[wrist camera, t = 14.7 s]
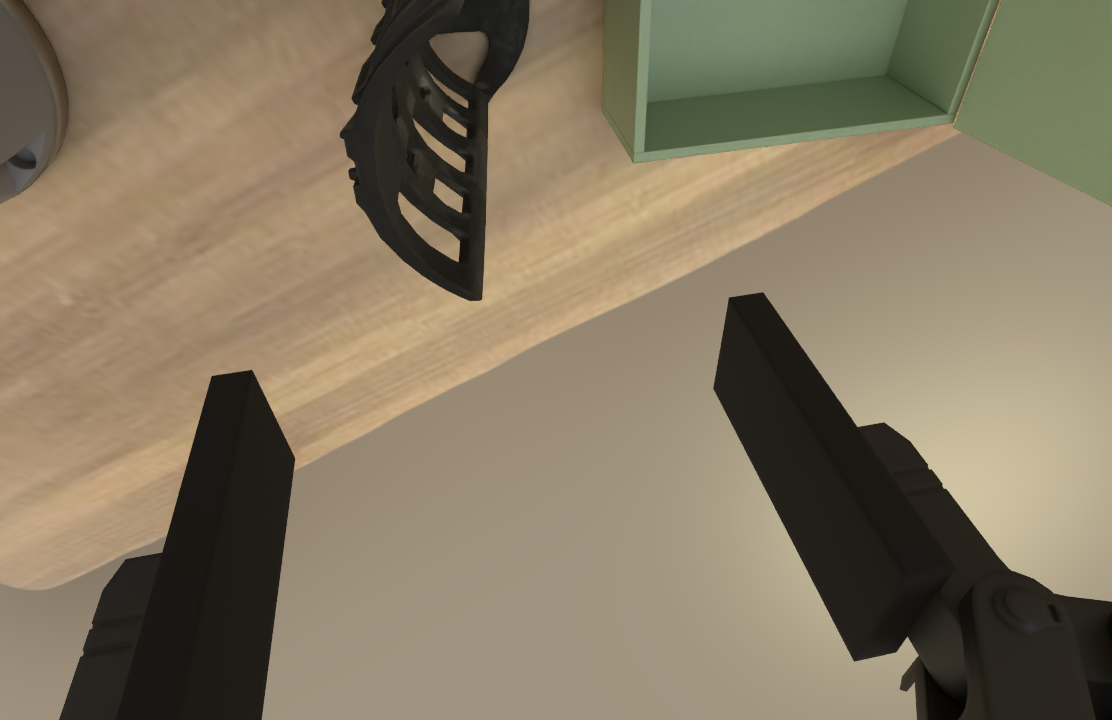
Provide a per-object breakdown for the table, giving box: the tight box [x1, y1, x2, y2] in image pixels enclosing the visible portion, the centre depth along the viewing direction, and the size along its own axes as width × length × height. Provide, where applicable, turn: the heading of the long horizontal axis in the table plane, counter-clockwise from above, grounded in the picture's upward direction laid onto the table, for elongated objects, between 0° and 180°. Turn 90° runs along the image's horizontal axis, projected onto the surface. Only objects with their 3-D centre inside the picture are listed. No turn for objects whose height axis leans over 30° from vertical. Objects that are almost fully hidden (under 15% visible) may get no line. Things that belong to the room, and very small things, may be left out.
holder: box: [340, 0, 529, 301], centre depth 29 cm, size 11×8×20 cm
